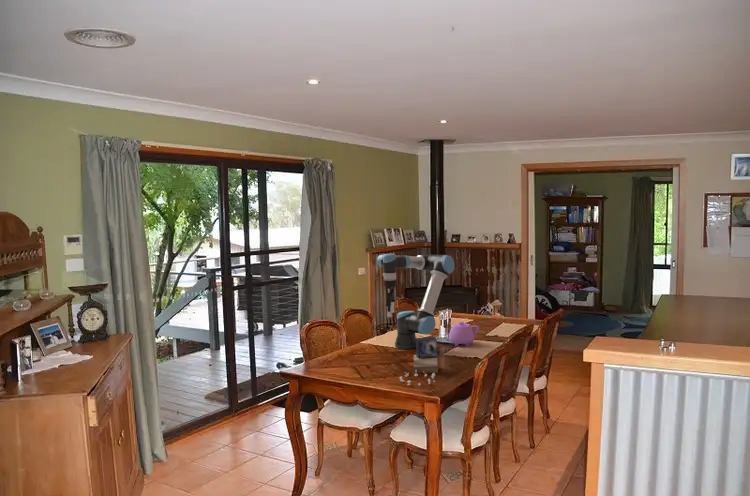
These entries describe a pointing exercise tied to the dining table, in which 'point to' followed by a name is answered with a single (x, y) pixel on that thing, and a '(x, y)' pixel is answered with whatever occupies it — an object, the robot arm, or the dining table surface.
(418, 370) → the tower base block
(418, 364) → the tower top block
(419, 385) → the game piece set
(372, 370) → the dining table surface
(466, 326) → the teapot
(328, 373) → the dining table surface
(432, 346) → the small box
